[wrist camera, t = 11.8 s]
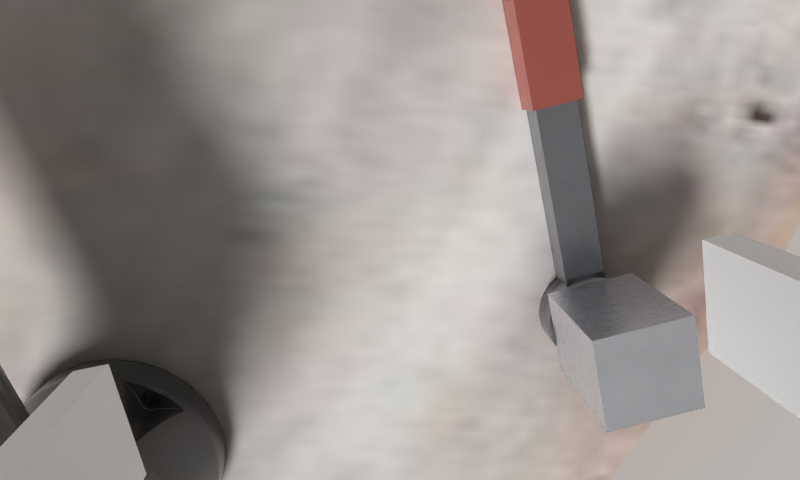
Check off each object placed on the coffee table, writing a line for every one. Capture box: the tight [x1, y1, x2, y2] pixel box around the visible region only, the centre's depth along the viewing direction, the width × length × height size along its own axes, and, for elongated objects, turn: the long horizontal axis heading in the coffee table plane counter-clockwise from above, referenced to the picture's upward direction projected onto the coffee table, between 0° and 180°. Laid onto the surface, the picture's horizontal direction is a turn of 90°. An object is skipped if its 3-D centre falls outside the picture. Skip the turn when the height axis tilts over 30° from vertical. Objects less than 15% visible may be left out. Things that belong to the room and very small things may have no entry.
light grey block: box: [548, 273, 705, 432], centre depth 39 cm, size 6×6×8 cm
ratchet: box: [502, 0, 611, 346], centre depth 39 cm, size 6×27×8 cm, turn 13°
